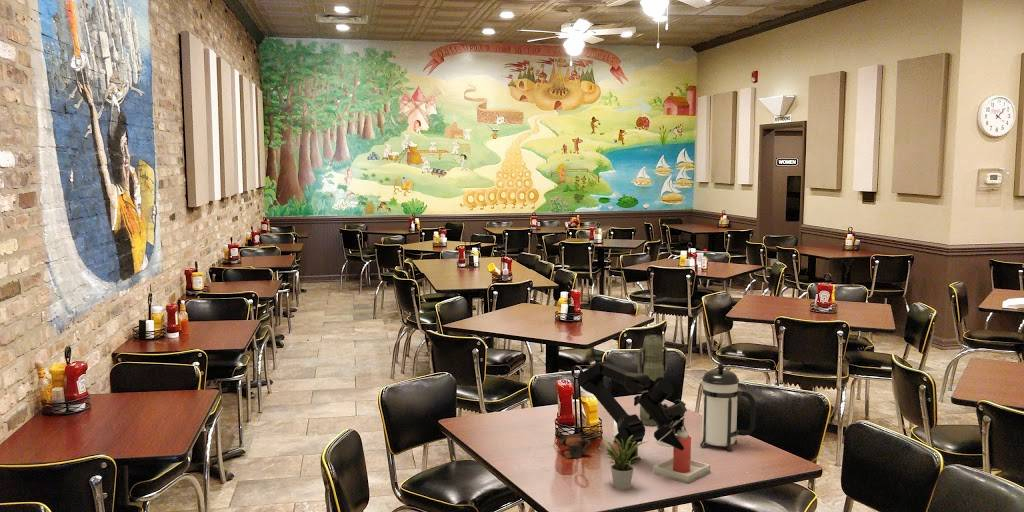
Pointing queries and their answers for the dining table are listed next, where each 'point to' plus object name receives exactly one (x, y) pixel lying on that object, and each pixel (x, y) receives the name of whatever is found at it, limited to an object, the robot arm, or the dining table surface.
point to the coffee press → (722, 408)
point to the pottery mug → (575, 445)
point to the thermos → (651, 366)
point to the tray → (695, 472)
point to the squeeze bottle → (682, 452)
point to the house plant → (622, 463)
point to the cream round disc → (663, 443)
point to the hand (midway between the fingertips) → (686, 445)
